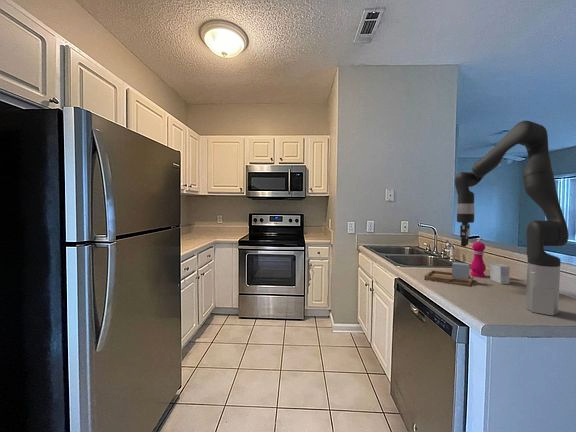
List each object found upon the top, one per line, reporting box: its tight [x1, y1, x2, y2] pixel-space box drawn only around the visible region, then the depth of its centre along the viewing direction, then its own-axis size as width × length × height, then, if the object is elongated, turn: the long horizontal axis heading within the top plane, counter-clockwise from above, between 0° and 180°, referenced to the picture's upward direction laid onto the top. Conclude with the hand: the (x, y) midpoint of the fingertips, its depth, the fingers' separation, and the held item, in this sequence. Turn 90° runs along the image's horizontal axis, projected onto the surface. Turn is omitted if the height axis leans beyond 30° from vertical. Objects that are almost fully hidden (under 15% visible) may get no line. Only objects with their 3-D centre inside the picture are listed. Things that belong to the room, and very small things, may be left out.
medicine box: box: [489, 263, 511, 285], centre depth 152 cm, size 8×4×9 cm, turn 179°
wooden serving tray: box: [423, 270, 474, 287], centre depth 156 cm, size 16×20×2 cm
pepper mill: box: [469, 238, 487, 278], centre depth 164 cm, size 7×7×20 cm
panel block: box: [451, 261, 471, 280], centre depth 152 cm, size 4×7×8 cm, turn 53°
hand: (464, 245), depth 150 cm, fingers open, 8 cm apart
